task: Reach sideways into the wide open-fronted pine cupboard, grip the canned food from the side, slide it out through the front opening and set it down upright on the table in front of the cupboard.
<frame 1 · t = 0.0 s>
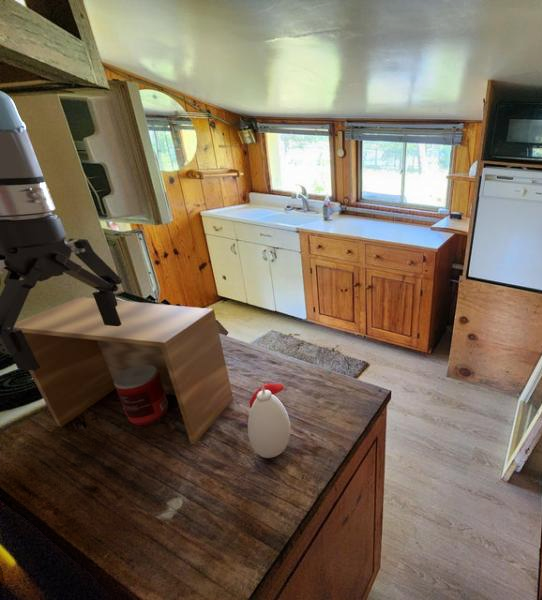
hand: (76, 344, 54), 26 cm above the counter, tool pointing down, fingers open, 13 cm apart
cupboard: (151, 411, 76), on the counter
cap: (268, 408, 79), on the counter
canned food: (149, 413, 75), on the counter
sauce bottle: (273, 452, 67), on the counter
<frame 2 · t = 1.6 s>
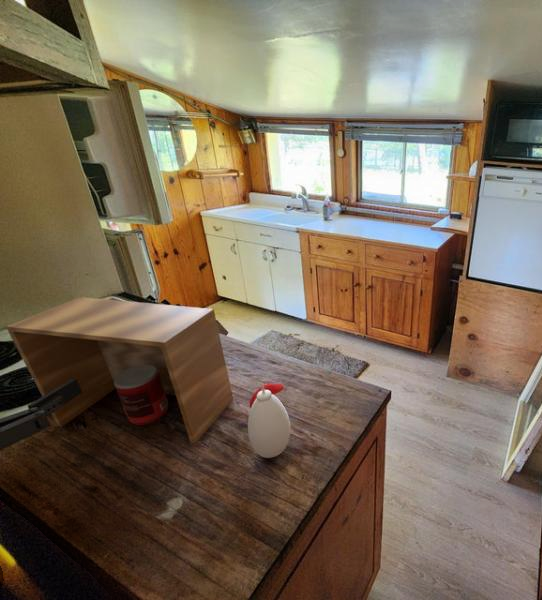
hand: (38, 384, 53), 20 cm above the counter, tool horizontal, fingers open, 13 cm apart
nothing on the counter moved.
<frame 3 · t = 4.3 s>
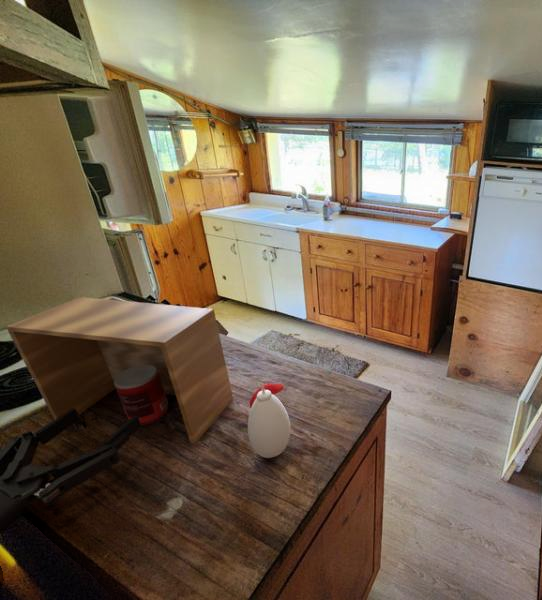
hand: (106, 417, 65), 7 cm above the counter, tool horizontal, fingers open, 13 cm apart
nothing on the counter moved.
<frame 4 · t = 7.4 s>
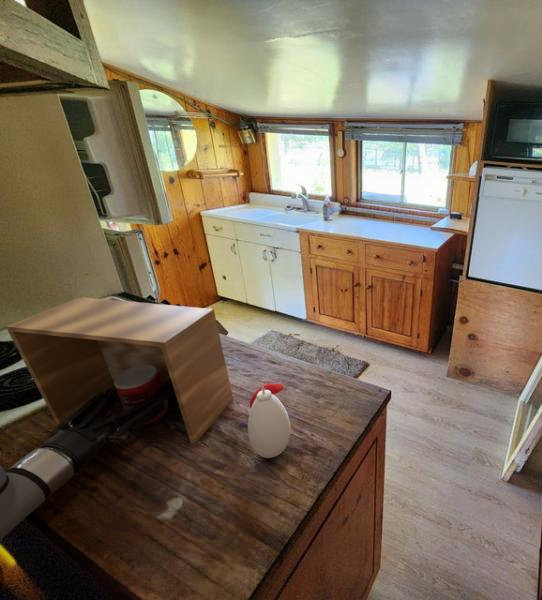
hand: (159, 379, 77), 6 cm above the counter, tool horizontal, fingers closed on canned food, 8 cm apart
canned food: (149, 413, 75), on the counter, touching gripper
everything else where it was.
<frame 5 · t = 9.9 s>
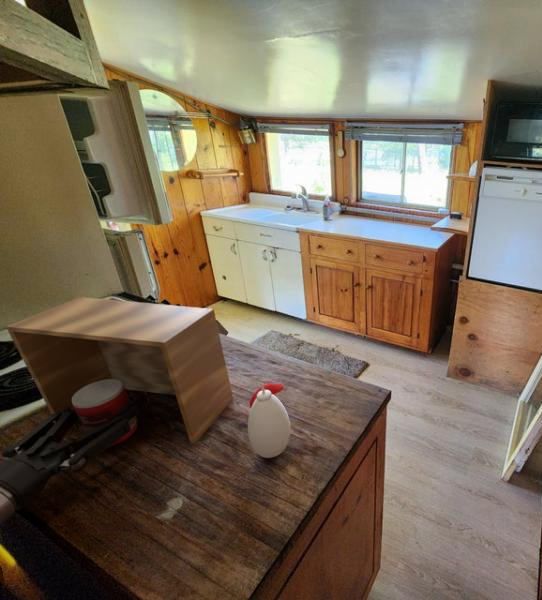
hand: (127, 395, 69), 8 cm above the counter, tool horizontal, fingers closed on canned food, 8 cm apart
canned food: (116, 433, 67), point 2 cm above the counter, touching gripper
everything else where it was.
when the fingers open (6 cm above the counter, at t = 12.4 s): canned food stays where it is, on the counter.
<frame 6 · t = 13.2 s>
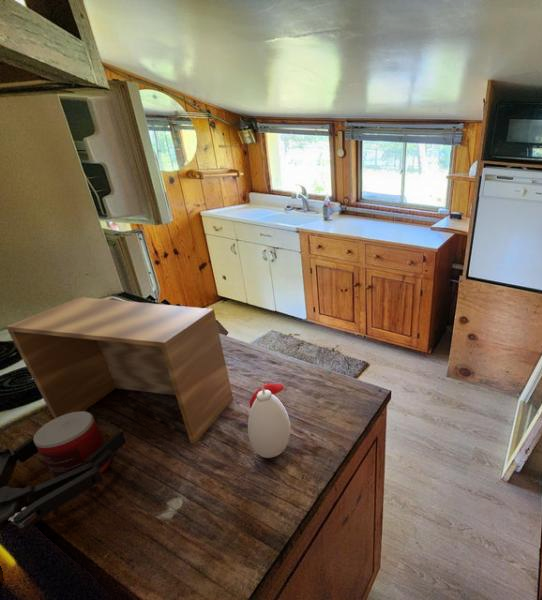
hand: (90, 432, 62), 6 cm above the counter, tool horizontal, fingers open, 13 cm apart
canned food: (86, 470, 62), on the counter
everything else where it was.
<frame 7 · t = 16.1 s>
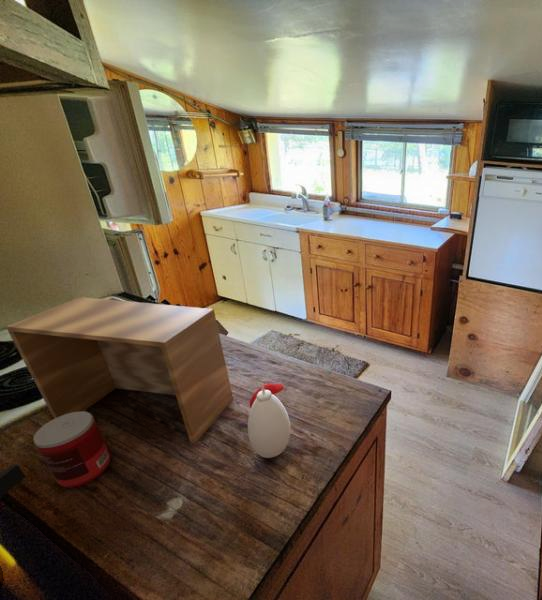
nothing on the counter moved.
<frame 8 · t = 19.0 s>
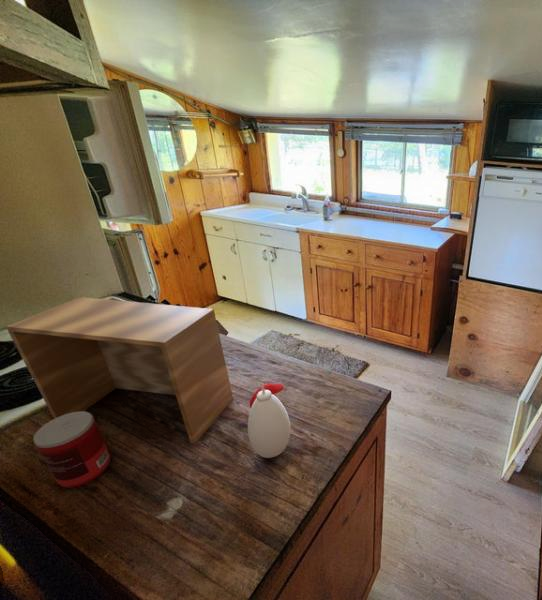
nothing on the counter moved.
at the end: canned food inside the target area (0.8 cm from its centre), on the counter; canned food tilted 0°; the gripper is holding nothing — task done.
